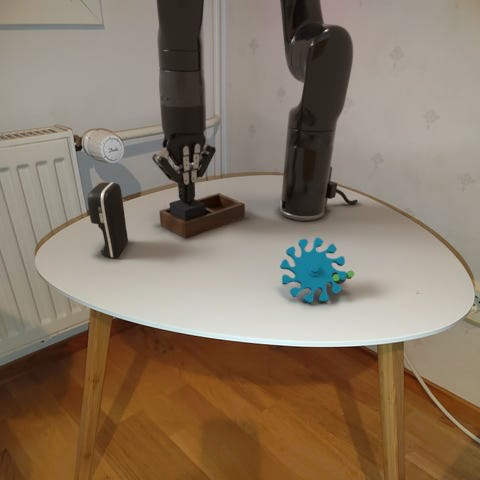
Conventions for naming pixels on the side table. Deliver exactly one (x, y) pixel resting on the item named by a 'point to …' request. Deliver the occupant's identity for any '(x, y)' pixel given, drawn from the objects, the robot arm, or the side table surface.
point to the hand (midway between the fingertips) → (187, 201)
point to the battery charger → (109, 216)
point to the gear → (315, 270)
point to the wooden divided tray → (205, 216)
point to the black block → (187, 209)
